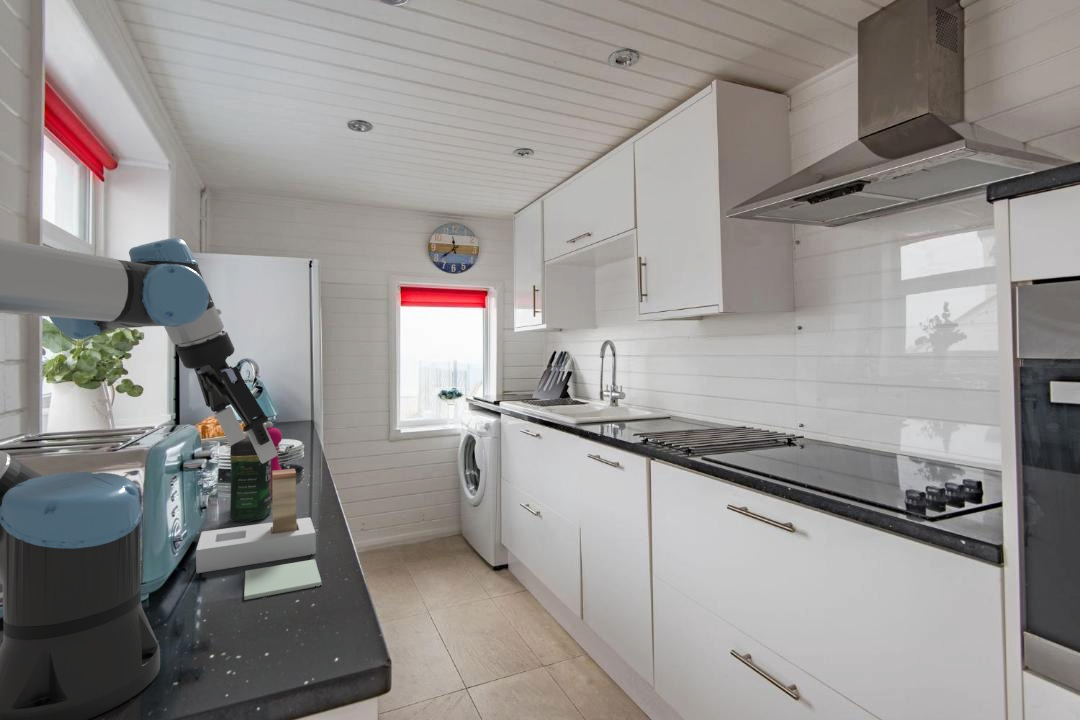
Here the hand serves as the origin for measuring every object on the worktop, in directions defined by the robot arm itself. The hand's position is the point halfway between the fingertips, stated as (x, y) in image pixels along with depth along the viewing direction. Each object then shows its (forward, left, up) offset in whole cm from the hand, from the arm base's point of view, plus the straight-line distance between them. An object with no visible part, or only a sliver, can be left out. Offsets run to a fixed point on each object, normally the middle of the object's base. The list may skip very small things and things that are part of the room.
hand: (253, 449), depth 94 cm
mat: (-1, -8, -21) cm, 22 cm away
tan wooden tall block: (+9, +4, -21) cm, 23 cm away
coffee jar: (+19, +29, -21) cm, 41 cm away
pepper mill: (+32, +41, -21) cm, 57 cm away
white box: (+5, +6, -21) cm, 23 cm away
